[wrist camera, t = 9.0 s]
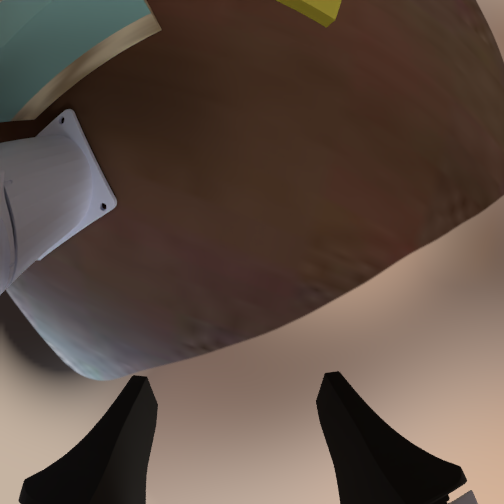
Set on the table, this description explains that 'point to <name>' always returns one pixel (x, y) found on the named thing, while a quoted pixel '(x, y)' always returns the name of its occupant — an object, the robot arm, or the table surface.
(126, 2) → the teal block
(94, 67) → the socket block
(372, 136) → the table surface
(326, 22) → the flat olive board
